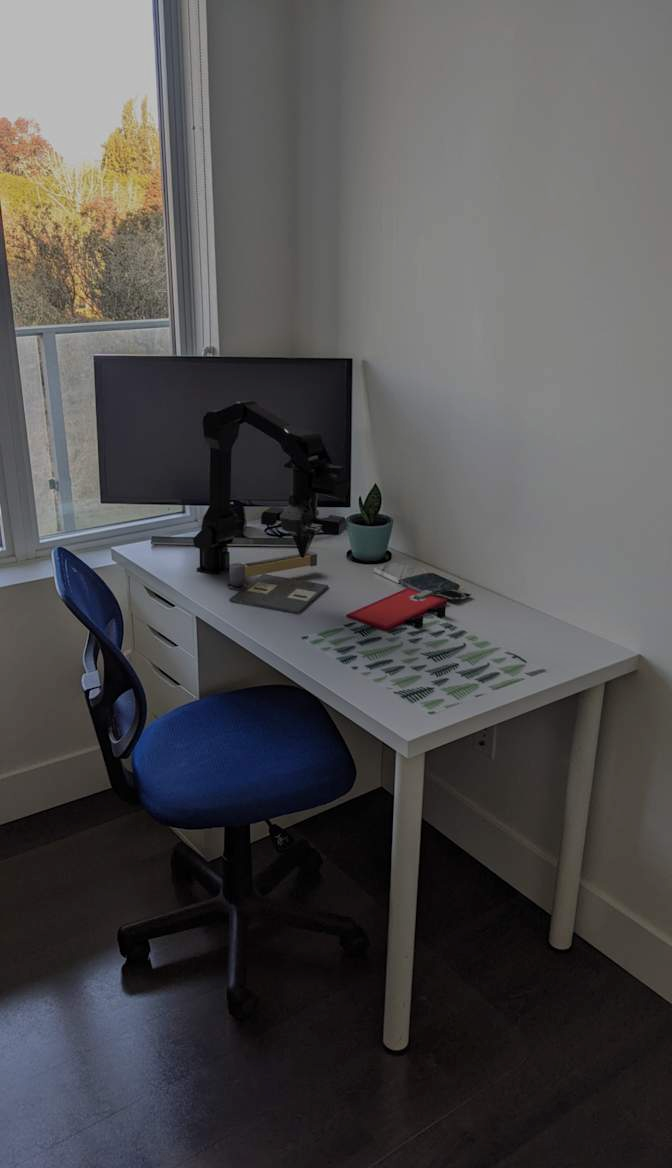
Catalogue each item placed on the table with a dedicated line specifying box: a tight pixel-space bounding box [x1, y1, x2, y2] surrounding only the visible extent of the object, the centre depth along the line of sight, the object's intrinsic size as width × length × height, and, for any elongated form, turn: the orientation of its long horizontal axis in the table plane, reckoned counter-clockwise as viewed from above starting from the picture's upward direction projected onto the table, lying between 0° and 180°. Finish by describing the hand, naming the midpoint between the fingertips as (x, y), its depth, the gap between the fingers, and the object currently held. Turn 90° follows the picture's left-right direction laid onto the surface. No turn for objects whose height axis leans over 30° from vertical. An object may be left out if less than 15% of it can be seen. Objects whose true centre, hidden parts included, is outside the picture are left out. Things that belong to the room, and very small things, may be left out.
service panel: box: [226, 573, 329, 615], centre depth 212 cm, size 22×18×1 cm
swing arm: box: [229, 550, 318, 586], centre depth 219 cm, size 23×4×4 cm, turn 124°
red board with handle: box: [345, 587, 472, 633], centre depth 206 cm, size 30×3×15 cm
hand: (302, 557), depth 206 cm, fingers closed
